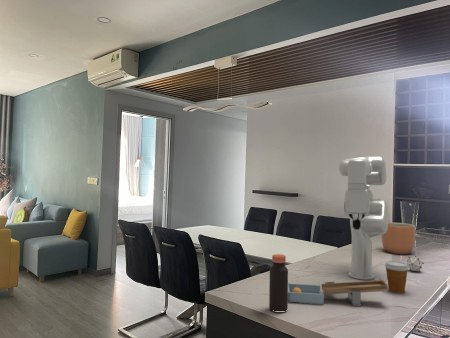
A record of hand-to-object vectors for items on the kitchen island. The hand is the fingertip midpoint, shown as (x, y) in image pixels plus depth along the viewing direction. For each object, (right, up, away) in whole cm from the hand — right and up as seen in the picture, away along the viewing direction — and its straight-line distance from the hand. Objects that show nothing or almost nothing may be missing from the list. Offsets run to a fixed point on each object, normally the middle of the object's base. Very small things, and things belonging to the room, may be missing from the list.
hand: (356, 229), depth 150 cm
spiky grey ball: (+44, -29, +33) cm, 62 cm away
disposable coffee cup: (+18, -28, +1) cm, 33 cm away
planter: (+59, -30, +80) cm, 104 cm away
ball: (-29, -24, -11) cm, 39 cm away
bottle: (-38, -26, -23) cm, 52 cm away
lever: (-6, -23, -11) cm, 26 cm away
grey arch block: (-6, -27, -14) cm, 31 cm away
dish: (-26, -26, -11) cm, 38 cm away
